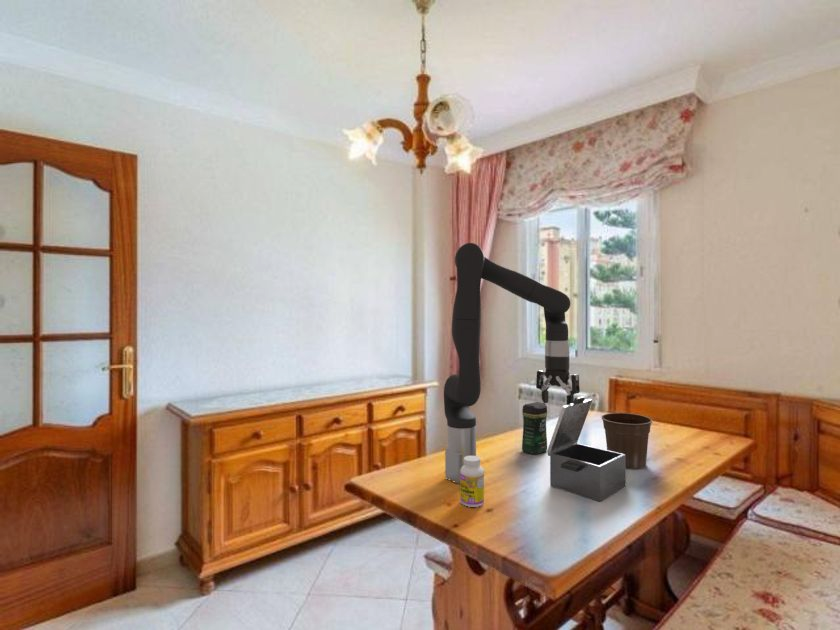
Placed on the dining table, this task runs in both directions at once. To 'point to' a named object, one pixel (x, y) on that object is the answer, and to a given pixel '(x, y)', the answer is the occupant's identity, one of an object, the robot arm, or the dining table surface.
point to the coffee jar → (534, 428)
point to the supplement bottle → (472, 482)
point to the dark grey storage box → (588, 471)
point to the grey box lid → (569, 424)
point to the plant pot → (628, 436)
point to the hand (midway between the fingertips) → (557, 404)
